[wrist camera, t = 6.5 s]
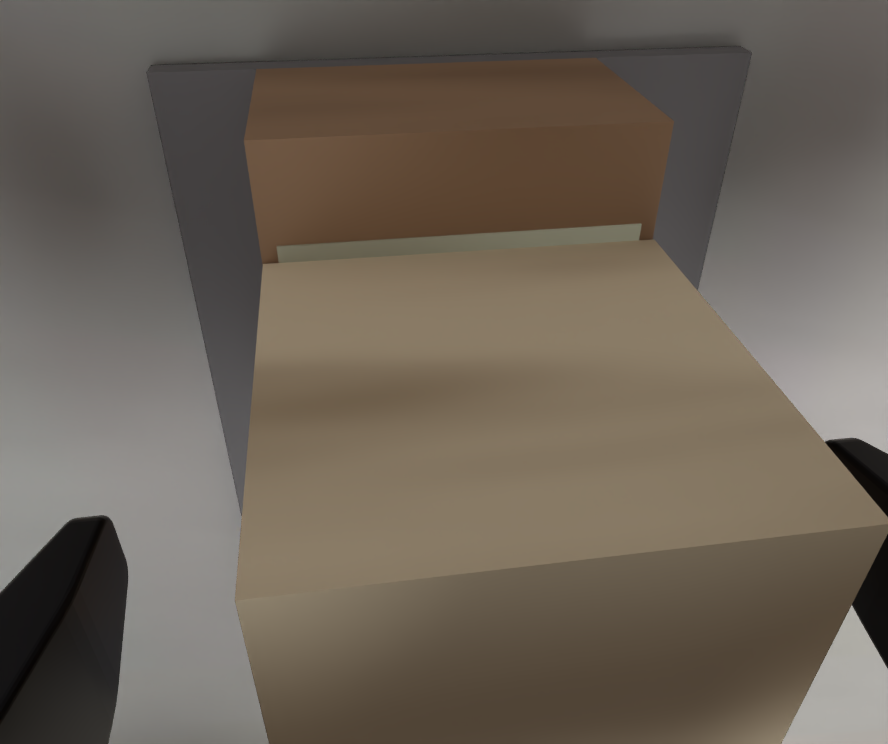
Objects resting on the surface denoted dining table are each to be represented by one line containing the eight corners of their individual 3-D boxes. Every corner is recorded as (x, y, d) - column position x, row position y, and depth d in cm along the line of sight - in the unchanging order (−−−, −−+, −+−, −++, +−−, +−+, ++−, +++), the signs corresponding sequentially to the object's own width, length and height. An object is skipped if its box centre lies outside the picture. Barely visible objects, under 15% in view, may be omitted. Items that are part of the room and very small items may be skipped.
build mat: (607, 649, 21) (612, 661, 21) (282, 693, 20) (282, 707, 20) (739, 46, 12) (752, 52, 12) (150, 65, 11) (146, 72, 11)
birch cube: (603, 510, 13) (741, 822, 9) (303, 543, 12) (305, 895, 8) (654, 239, 10) (893, 523, 6) (263, 264, 9) (235, 600, 5)
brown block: (549, 455, 16) (593, 567, 14) (310, 479, 16) (312, 601, 13) (595, 57, 11) (675, 122, 9) (256, 68, 11) (243, 142, 8)
